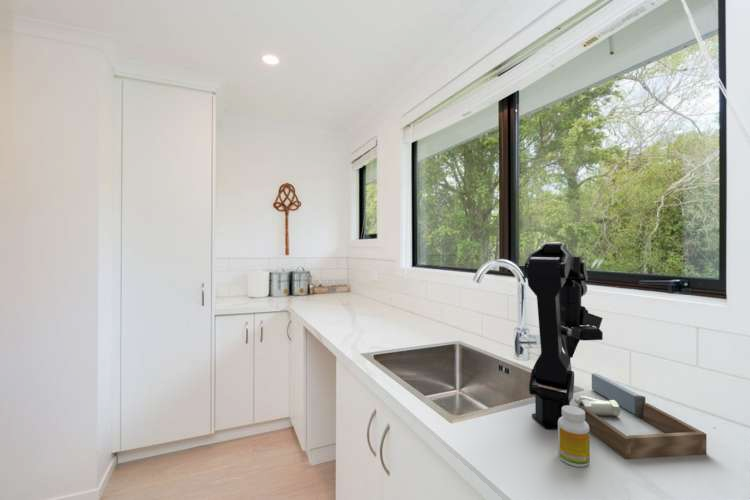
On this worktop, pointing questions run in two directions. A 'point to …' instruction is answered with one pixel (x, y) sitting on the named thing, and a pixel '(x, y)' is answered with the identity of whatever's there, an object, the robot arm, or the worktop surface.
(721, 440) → the worktop surface
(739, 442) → the worktop surface
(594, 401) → the pipe fitting
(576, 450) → the supplement bottle
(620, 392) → the grey rectangular bar
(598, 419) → the rectangular wooden tray
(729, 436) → the worktop surface
